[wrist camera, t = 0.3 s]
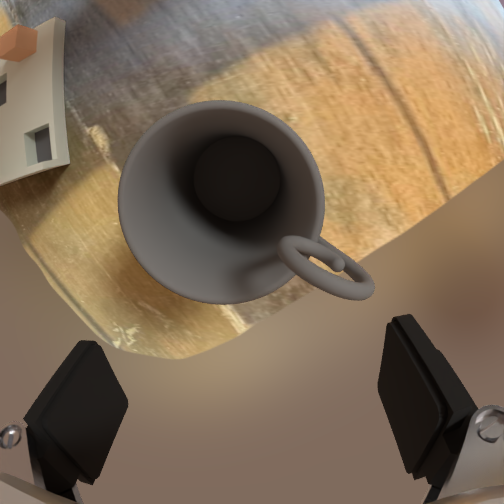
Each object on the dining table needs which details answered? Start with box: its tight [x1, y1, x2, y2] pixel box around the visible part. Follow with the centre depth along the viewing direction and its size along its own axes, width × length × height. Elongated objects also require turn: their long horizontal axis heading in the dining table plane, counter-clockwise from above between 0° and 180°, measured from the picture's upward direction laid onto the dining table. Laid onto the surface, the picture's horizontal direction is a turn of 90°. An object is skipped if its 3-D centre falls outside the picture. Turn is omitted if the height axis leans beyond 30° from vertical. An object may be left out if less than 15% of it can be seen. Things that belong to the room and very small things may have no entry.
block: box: [0, 25, 38, 62], centre depth 24 cm, size 4×4×5 cm
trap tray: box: [0, 17, 70, 186], centre depth 30 cm, size 24×17×6 cm
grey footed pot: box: [118, 100, 375, 305], centre depth 25 cm, size 19×15×25 cm
